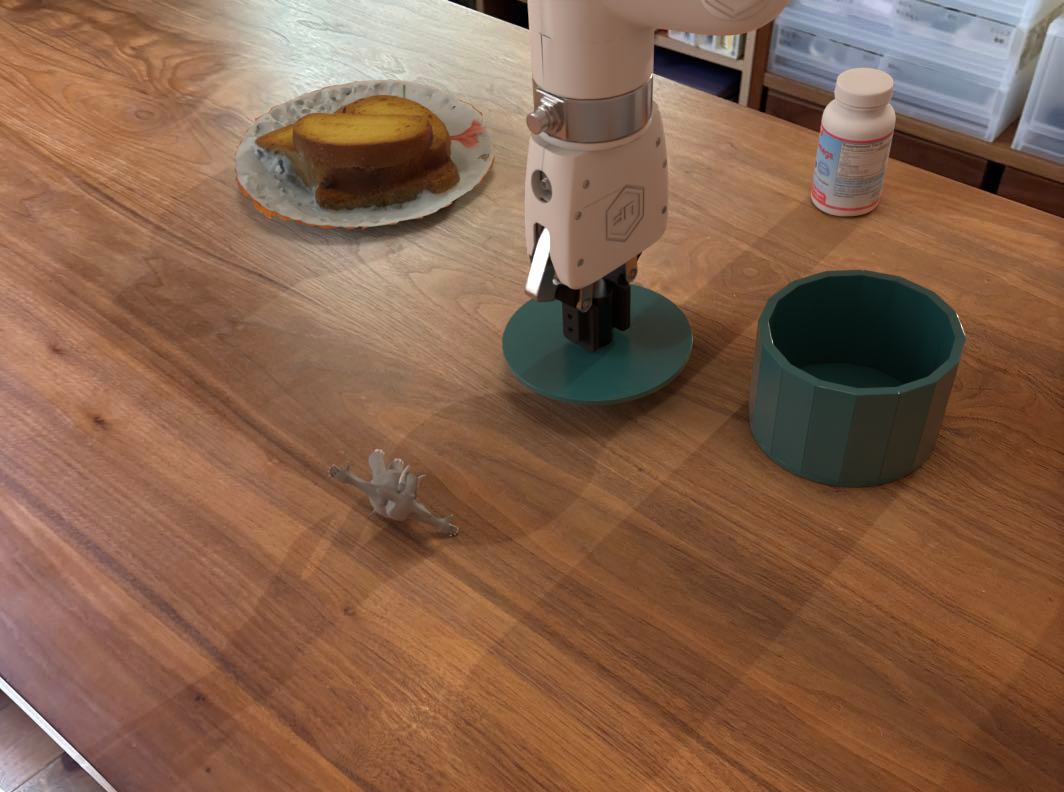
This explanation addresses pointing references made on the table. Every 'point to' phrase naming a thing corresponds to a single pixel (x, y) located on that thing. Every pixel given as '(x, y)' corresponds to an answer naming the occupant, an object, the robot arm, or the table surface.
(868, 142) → the pill bottle
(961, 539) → the table surface
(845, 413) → the pot
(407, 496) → the grey monster figurine
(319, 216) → the food on plate
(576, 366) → the lid
